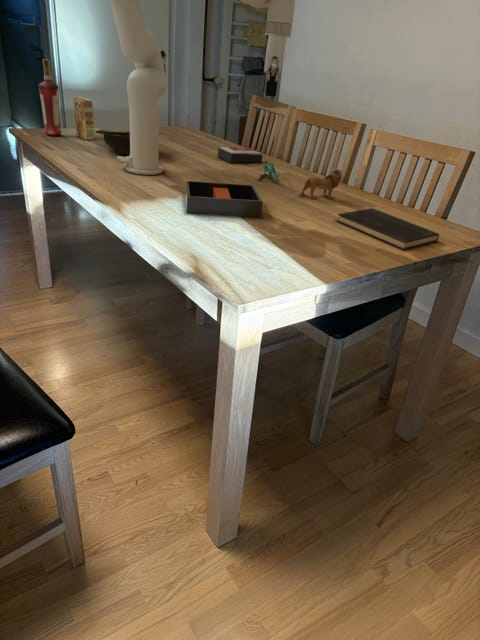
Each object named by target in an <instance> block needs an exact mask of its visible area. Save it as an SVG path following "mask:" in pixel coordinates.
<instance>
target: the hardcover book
mask: <svg viewBox="0 0 480 640" xmlns="http://www.w3.org/2000/svg"><path fill="white" fill-rule="evenodd" d="M337 216H339V217H338V219H337V220H336V222H337V223H339V224H341V225H344V226H346V227H347V228H350V229H353V230H356V231H357V232H360V233H362V234H364V235H367V236H369V237H372V238H374V239H377V240H378V241H381V242H384V243H385V244H388V245H390V246H392V247H395V248H397V249H399V250H401V251H404V250H408V249H413V248H416V247H420V246H424V245H428V244H432V243H436V242H438V240H439V238H440V233H438V232H435V231H433V230H431V229H429V228H425V227H422V226H420V225H418V224H415V223H412V222H410V221H407V220H404V219H402V218H399V217H397V216H394V215H391V214H389V213H386V212H384V211H381V210H379V209H376V208H373V207H372V208H365V209H359V210H353V211H347V212H342V213H338V214H337Z"/></svg>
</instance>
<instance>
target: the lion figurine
mask: <svg viewBox="0 0 480 640" xmlns="http://www.w3.org/2000/svg"><path fill="white" fill-rule="evenodd" d="M342 177H343V176H342V171H341V170H340V169H338V168H334V169H331V170H330V172H329V173H328V174H327V175H326V176H324V177H319V176H316V175H311V176H308V178H307V179H306V181H305V183H304V185H303V188H302V190H301V193H300V194H299V196H300V197H302V196H304V197H305V196H306V193H305V191H307V190H309V189H310V191H309V194H310V197H311V198H312V199H316V198H317V197H316V196H315V195H314V192H315V190H316V189H320V190H323V193H322V197H327V198H328V199H331V200H332V198H333V197H332V196H331V195H332V193H333V189H336V188H337V187H338V186H339V184H340V182H341V180H342ZM327 190H328V191H327ZM327 192H328V193H327Z"/></svg>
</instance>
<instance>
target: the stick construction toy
mask: <svg viewBox="0 0 480 640" xmlns="http://www.w3.org/2000/svg"><path fill="white" fill-rule="evenodd" d="M262 168H263V170H264V171H263V173H261V175H260V177H259V178H258V181H259V182H260V181H262V180H263V179H264V178H266V177H268V178H269V179H270V180H272V179H273V180H274V182H275V183H277V182H279V178H278V177H280V176H281V175H280V173H278V172H277V170H276V168H275V167H274V163H273V162H271V163H270V162H269V161H268V160H265V161H264V166H263V167H262Z"/></svg>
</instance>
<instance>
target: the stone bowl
mask: <svg viewBox="0 0 480 640" xmlns="http://www.w3.org/2000/svg"><path fill="white" fill-rule="evenodd" d="M95 133H96V134H100V135H103V141H104V143H105V145H108V146H109V147H110V148H113V149H114V150H115V153H116V154H117V155H119V156H121V155H122V156H123V155H124V156H129V155H130V130H119V129H117V130H109V129H106V130H105V129H104V130H103V129H98V130H94V134H95ZM161 134H162V133H160V132H159V136H160V135H161Z"/></svg>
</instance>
